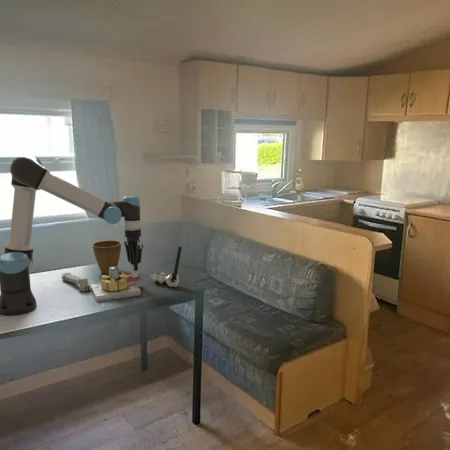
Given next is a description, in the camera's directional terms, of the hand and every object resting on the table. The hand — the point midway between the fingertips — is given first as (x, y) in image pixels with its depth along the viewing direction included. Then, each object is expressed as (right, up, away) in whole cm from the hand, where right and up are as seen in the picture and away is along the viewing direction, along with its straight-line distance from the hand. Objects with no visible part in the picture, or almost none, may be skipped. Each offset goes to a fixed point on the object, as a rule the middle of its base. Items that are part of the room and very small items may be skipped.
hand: (134, 276), depth 222 cm
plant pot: (-19, -1, +26) cm, 32 cm away
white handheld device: (-30, -5, +5) cm, 31 cm away
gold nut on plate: (-8, -7, -6) cm, 12 cm away
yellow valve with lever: (-6, -3, -3) cm, 7 cm away
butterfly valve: (+13, -5, +7) cm, 16 cm away
